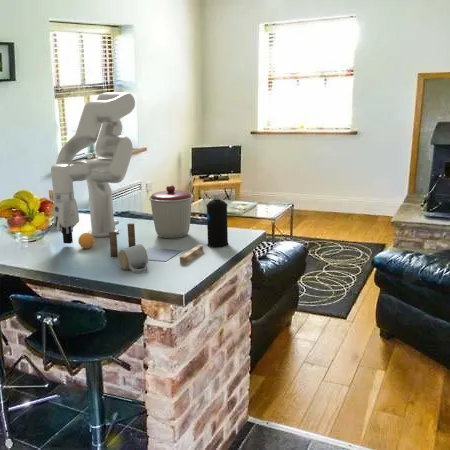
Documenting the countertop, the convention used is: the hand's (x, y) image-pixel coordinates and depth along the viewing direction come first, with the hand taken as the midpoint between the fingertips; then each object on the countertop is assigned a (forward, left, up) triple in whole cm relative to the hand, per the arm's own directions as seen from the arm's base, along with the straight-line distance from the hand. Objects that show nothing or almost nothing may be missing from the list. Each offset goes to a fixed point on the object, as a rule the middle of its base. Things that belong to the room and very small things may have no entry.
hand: (68, 242), depth 218 cm
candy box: (-31, -27, -2) cm, 41 cm away
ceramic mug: (+17, +39, -2) cm, 43 cm away
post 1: (+7, +25, -2) cm, 25 cm away
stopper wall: (0, +53, -2) cm, 53 cm away
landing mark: (0, +39, -2) cm, 39 cm away
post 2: (-6, +25, -2) cm, 25 cm away
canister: (-26, +33, -2) cm, 42 cm away
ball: (0, +9, +2) cm, 9 cm away
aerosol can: (-18, +56, -2) cm, 58 cm away
